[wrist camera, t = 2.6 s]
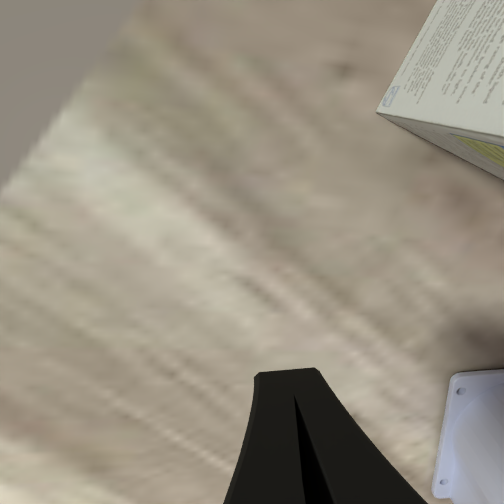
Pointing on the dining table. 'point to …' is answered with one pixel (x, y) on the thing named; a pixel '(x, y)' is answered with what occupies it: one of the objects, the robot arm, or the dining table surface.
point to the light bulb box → (455, 83)
